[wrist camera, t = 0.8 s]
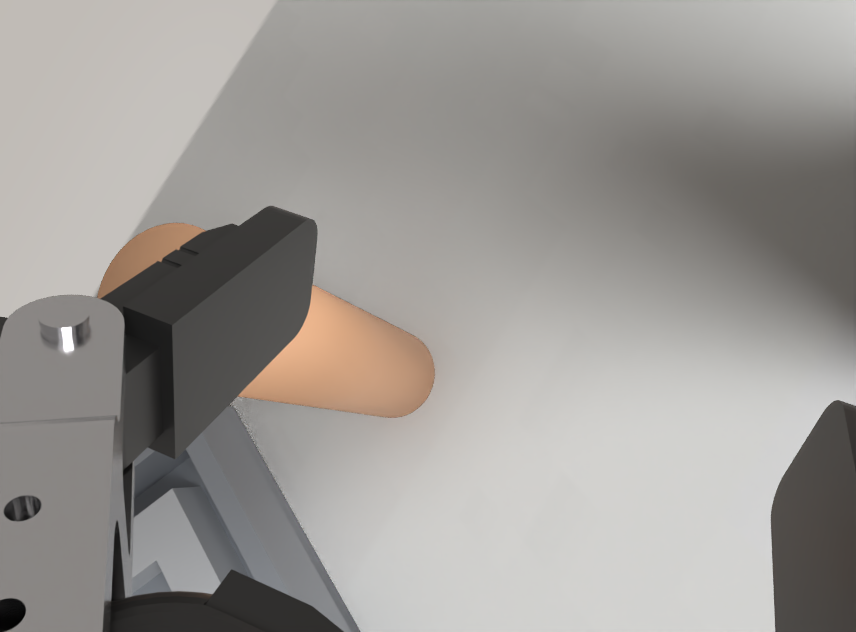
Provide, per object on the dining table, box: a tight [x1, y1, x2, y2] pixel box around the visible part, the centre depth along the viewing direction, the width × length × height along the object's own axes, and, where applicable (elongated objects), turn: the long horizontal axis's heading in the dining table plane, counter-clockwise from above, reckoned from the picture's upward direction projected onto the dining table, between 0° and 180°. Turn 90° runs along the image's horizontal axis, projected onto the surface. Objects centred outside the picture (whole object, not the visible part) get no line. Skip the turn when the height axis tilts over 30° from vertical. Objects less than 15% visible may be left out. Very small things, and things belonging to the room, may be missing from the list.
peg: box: [97, 223, 435, 418], centre depth 26 cm, size 4×4×17 cm
